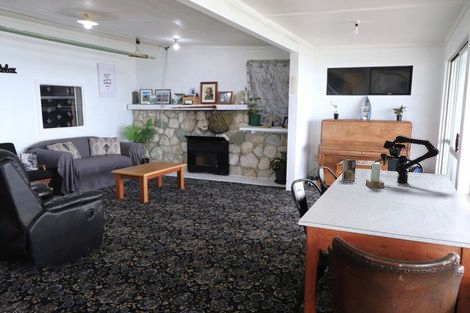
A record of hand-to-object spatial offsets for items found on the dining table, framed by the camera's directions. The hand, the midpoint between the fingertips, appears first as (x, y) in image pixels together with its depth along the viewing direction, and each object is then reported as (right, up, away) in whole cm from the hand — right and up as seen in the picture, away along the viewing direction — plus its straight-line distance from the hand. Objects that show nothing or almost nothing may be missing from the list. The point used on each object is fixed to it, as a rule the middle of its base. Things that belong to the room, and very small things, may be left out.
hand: (389, 166), depth 277 cm
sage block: (-14, -10, -8) cm, 19 cm away
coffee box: (-26, -11, +16) cm, 33 cm away
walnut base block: (-14, -14, -7) cm, 21 cm away
